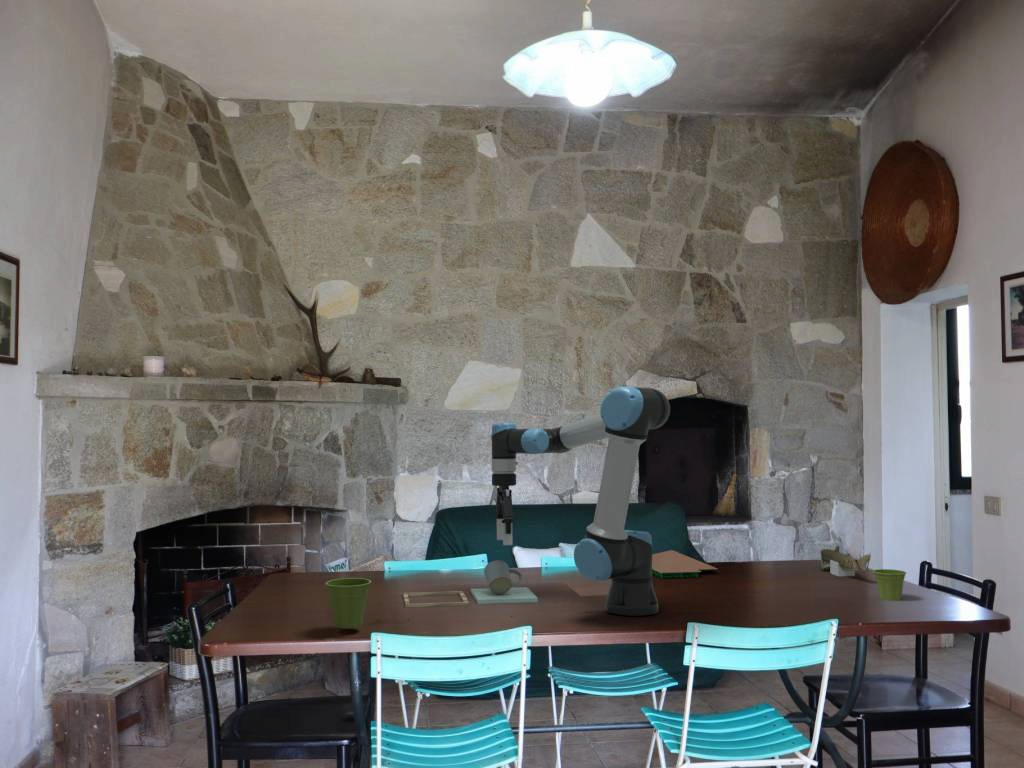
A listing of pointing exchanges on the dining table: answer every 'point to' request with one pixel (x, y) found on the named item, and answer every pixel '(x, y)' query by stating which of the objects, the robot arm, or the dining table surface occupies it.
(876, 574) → the plant pot
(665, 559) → the tan flat piece
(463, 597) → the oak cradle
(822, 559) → the wood carving
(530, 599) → the sage board
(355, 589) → the plant pot
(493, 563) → the ceramic mug
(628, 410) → the robot arm
